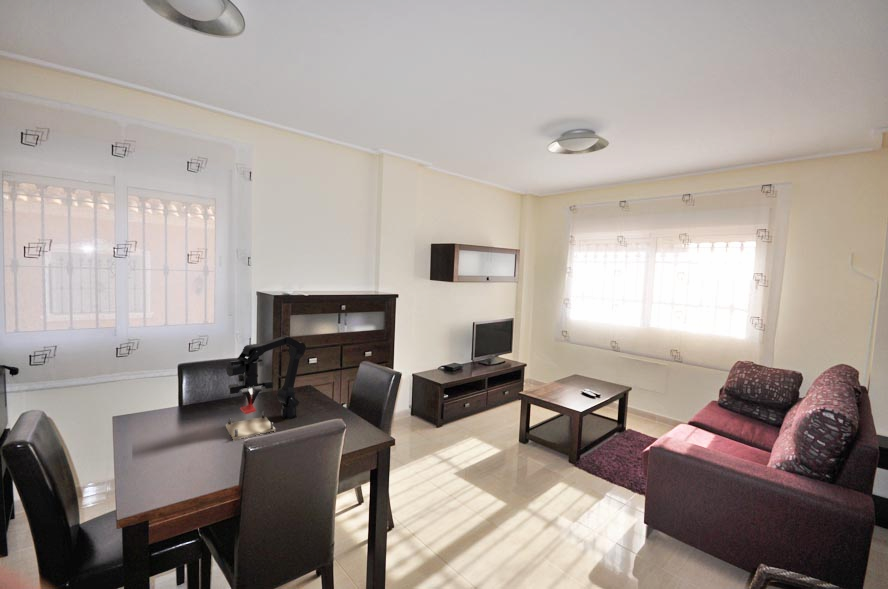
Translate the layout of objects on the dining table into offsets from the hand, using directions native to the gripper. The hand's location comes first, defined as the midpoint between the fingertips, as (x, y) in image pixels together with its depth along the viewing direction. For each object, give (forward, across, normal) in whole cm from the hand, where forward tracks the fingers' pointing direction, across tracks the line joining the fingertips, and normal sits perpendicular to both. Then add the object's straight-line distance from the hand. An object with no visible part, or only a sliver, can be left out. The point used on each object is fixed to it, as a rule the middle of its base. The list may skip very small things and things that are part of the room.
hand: (250, 404), depth 188 cm
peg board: (+12, 0, 0) cm, 12 cm away
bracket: (+3, +1, 0) cm, 3 cm away
